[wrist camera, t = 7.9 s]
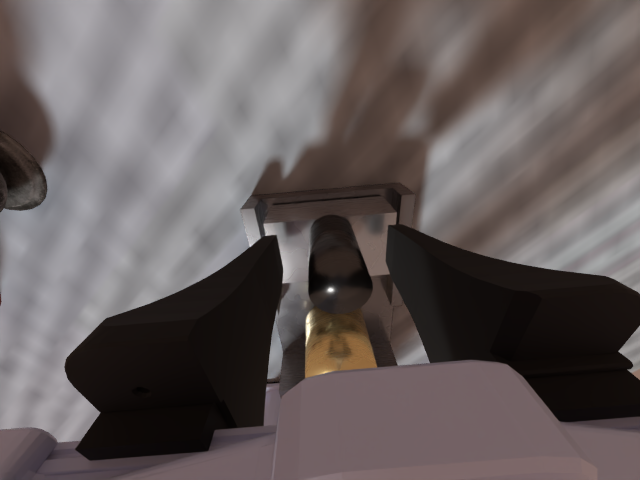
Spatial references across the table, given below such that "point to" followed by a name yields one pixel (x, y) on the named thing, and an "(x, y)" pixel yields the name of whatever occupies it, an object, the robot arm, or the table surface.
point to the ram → (333, 248)
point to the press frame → (295, 294)
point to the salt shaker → (19, 177)
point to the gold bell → (336, 342)
